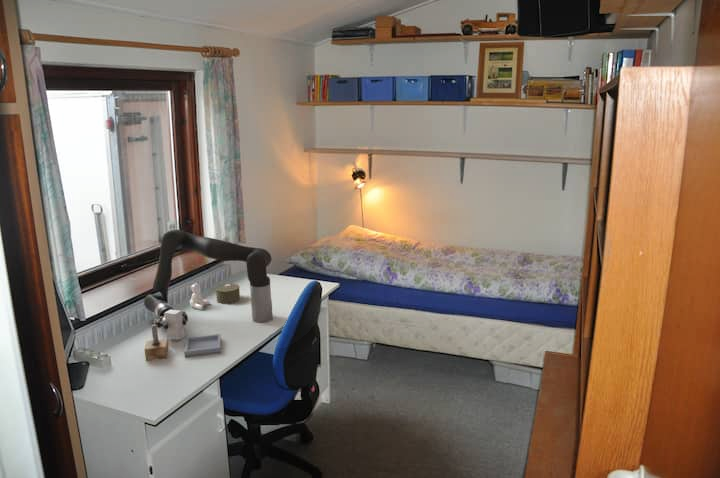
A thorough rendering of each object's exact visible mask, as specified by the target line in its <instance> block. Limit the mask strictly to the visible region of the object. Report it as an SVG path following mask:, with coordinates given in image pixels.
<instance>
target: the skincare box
mask: <svg viewBox="0 0 720 478" xmlns="http://www.w3.org/2000/svg"><path fill="white" fill-rule="evenodd" d="M182 312H183V311H182V310H178V309H174V310H171V309H170V310H168V311H167V312H165V313H164V314H165V322H166V323H167V324H168V329H166V337H167V339H168V340H177V341H180V340H181V339H183V338H184V337H185V329H184V328H185V327H184V325H183V319H182Z"/></svg>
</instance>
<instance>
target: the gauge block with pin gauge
mask: <svg viewBox="0 0 720 478" xmlns="http://www.w3.org/2000/svg"><path fill="white" fill-rule="evenodd" d="M151 334H152V340H147V341H146V343H145V347H144V357H145V362H147V361H155V360H165V359H167V358H168V355H169V350H170V349H169V341H168V340H169V339H168V338H162V339H159V333H158V327H157V325H154V324H152V325H151Z"/></svg>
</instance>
